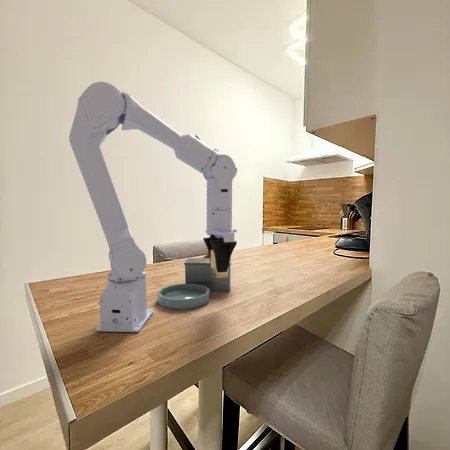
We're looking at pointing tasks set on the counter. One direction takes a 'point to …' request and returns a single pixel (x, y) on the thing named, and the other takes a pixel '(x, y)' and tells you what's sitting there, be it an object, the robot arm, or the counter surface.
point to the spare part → (214, 269)
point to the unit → (205, 274)
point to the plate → (183, 296)
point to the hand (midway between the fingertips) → (219, 269)
